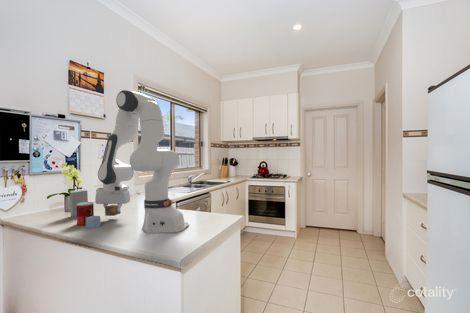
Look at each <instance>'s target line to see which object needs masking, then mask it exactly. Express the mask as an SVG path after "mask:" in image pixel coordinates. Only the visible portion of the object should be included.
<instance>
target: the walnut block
mask: <svg viewBox="0 0 470 313" xmlns="http://www.w3.org/2000/svg"><path fill="white" fill-rule="evenodd" d="M117 208H118V205H117V204H109V205H107V206H106V207H105V208H104V216H106V217H107V216H108V217H112V216H114V217H115V216H118V215H120V214H121V210H120V211H119V212H116V209H117Z"/></svg>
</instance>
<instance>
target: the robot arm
mask: <svg viewBox="0 0 470 313" xmlns="http://www.w3.org/2000/svg"><path fill="white" fill-rule="evenodd" d="M115 100H116V105H117V107H118V111H117V114H116V117H115V125H114V130H113V132H112V134H110V135H109V137H108V139H107V141H106V145H105V147H104V151H103V156H102V160H101V164H100V166H99V168H98V171H97V177H98V180H99V181H100V182H101V183H102V187H98V188H96V190H95V191H96V192H95V198H94V200H95V202H94V203H95V204H97V205H102V206H103V207H104V209H105V207H106V206H109V205H118V208H117V209H116V212H119V211H121V208H122V206H123V205H124V204H125V205H126V204H129V203H130V202H131V194H130V193H131V192H130V191H129V189H130V187H129V185H126V184H123V183H122V182H128V181H130V180H132V179H133V177H134V175H135V174H134V171H136V172H139V173H140V172H141V173H149V172H150V173H152V172H153V174H152V177H151V178H150V179H148V180H147V181H146V182H145V184H144V200H143V202H144V203H143V206H144V217H143V224H142V227H141V228H142V231H144V233H145V234H156V233H157V234H160V233H161V234H162V233H164V234H167V233H173V234H174V233H179V232H181V231H184V230H186V229H187V228H188V227H189V222H188V221H185V218H184V215H183V213H182V212H181V211H180V210H178V209H177V208H176V207H175V206H174V205H173V204H172V203H173V202H174V199H170V198H169V183H170V178H171V176H172V173H173V171H174V170H176V169H177V167H178V166H179V163H180V156H179V154H178V153H177V152H176V151H175V150H172V149H158V143H160V142H161V141H162V140H164V137H165V129H164V128H165V126H164V119H163V115H162V110H161V108H160V105H159V102H158V100H156V99H155V98H153V97H152V96H147V95H145V94H143V93H140V92H137V91H132V90H129V89H123V90H121V91H119V93H118V94H117V96H116V99H115ZM138 122H139V123H140V124H138ZM138 125H140V136H141V137H140V141H139V145H138V147H137V148H136V149H135V150H134V151H133V152H132V153H131V155H130V157H129V164H128V163H124V162H121V161H120V159H118V158H116V156H117V152H118V150H119V149H120V148H121V147H122V146H124V145H126V144H130V143H131V142H132V141H134V140H135V139H136V137H137V133H138V128H139V127H138ZM187 226H188V227H187ZM186 227H187V228H186Z"/></svg>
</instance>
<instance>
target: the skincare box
mask: <svg viewBox="0 0 470 313" xmlns="http://www.w3.org/2000/svg"><path fill="white" fill-rule="evenodd" d="M88 198H89V196H88V190H87V189H85V188H83V189H77V190H70V191H69V203H70V204H69V206H70V216H71V218H72V219H77V211H76V205H77V204H78V203H82V202H89V201H88V200H89V199H88Z"/></svg>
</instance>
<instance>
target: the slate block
mask: <svg viewBox="0 0 470 313" xmlns="http://www.w3.org/2000/svg"><path fill="white" fill-rule="evenodd" d="M100 226H101V215H94V216H91V217H88V218H86V225H85V228H87V229H95V228H97V227H100Z"/></svg>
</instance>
